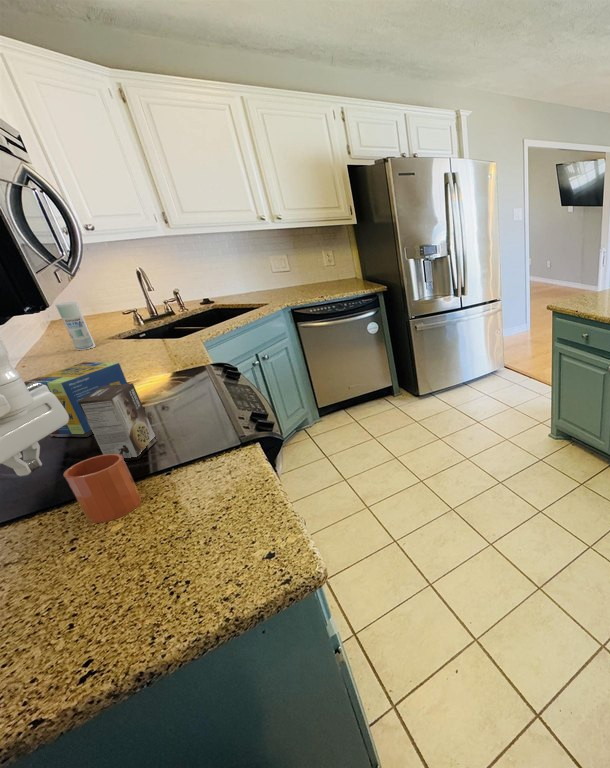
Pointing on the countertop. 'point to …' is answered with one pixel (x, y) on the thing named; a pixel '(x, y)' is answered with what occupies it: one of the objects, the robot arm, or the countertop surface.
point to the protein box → (79, 389)
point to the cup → (103, 487)
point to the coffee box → (117, 420)
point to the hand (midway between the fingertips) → (30, 471)
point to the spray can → (75, 325)
